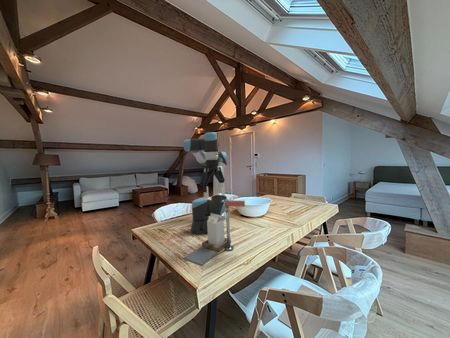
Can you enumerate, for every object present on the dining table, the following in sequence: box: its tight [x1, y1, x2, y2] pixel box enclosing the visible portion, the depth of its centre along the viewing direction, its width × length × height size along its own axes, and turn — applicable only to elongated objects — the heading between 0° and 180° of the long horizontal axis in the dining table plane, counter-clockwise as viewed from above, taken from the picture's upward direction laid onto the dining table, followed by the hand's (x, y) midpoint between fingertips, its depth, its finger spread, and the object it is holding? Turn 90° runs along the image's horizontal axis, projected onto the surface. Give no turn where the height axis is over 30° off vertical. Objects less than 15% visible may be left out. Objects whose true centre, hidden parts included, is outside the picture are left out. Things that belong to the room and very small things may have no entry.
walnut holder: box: [201, 237, 232, 253], centre depth 111 cm, size 12×12×2 cm
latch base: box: [224, 245, 235, 252], centre depth 106 cm, size 5×5×1 cm
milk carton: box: [207, 213, 226, 246], centre depth 110 cm, size 7×7×19 cm
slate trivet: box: [183, 246, 219, 266], centre depth 100 cm, size 13×13×1 cm
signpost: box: [220, 199, 246, 248], centre depth 100 cm, size 12×12×27 cm
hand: (213, 195), depth 109 cm, fingers open, 13 cm apart
